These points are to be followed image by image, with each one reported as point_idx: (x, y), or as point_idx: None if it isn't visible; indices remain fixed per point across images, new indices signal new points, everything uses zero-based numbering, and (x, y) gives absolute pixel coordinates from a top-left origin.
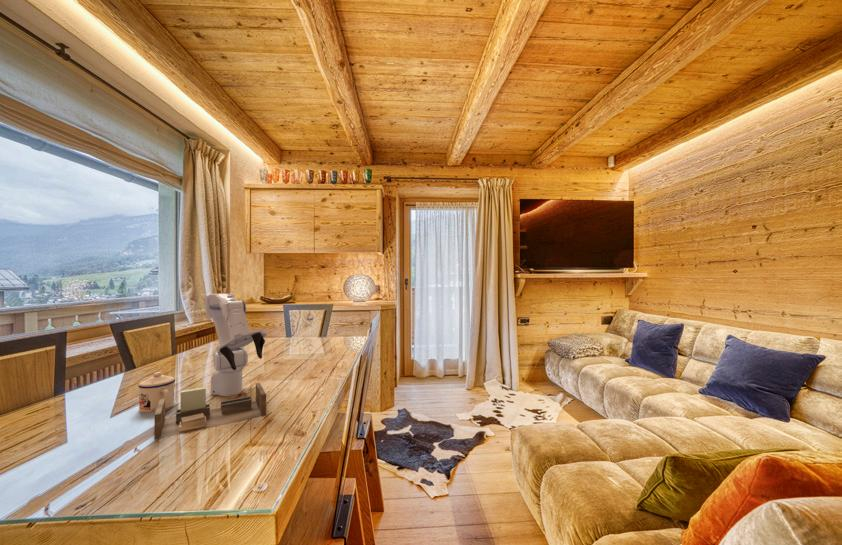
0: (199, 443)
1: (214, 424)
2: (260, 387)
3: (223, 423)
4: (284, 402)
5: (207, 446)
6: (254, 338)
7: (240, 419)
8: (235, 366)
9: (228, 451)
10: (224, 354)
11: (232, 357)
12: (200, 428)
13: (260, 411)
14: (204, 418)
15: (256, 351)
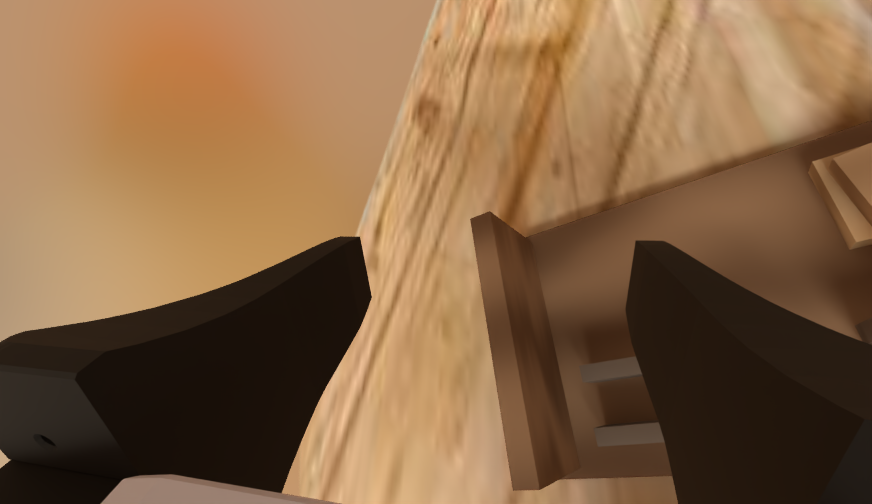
0: (773, 49)
1: (756, 184)
2: (502, 359)
3: (703, 188)
4: (450, 417)
5: (719, 28)
6: (153, 326)
7: (622, 220)
8: (634, 325)
9: (620, 4)
10: (865, 351)
11: (690, 433)
12: (833, 145)
13: (537, 276)
14: (832, 162)
15: (331, 252)
